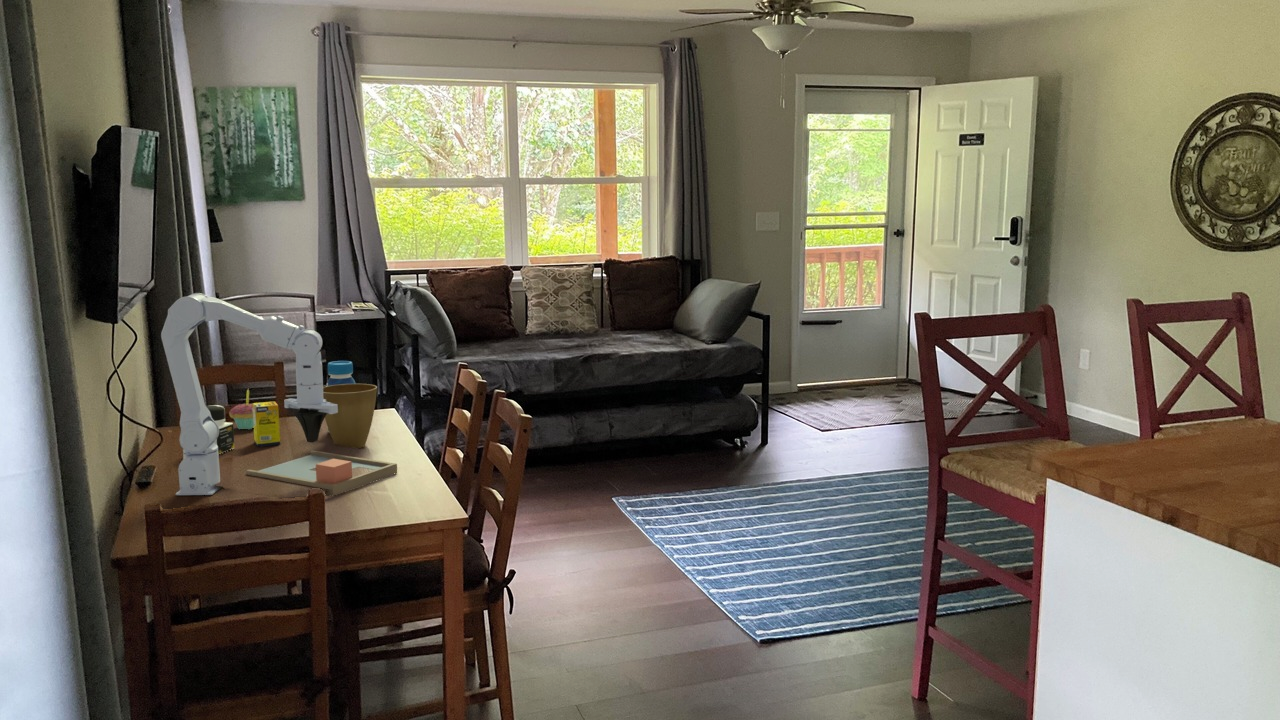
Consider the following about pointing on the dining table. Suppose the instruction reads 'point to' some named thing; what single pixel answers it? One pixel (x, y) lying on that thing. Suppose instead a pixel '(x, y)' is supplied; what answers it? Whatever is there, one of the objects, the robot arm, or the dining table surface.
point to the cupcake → (243, 414)
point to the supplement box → (266, 423)
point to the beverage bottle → (340, 373)
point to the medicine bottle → (222, 429)
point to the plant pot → (350, 413)
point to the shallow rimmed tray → (303, 475)
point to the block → (333, 471)
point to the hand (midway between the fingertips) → (312, 441)
